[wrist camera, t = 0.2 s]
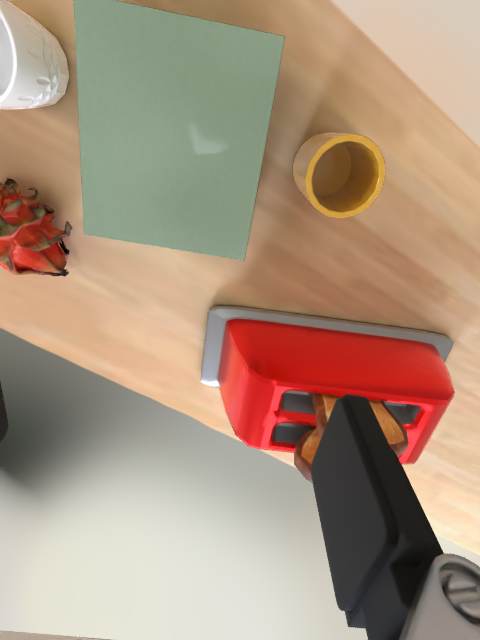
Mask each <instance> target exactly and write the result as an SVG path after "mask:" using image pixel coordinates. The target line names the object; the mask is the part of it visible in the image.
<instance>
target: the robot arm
mask: <svg viewBox="0 0 480 640" xmlns="http://www.w3.org/2000/svg"><path fill="white" fill-rule="evenodd" d="M7 430H8V420H7V415H6V409H5V404H4V399H3V393H2V388H1V383H0V442H1V440H3V438H4V437H5V435H6V432H7ZM311 477H312V482H313V486H314V492H315V497H316V501H317V506H318V512H319V516H320V522H321V527H322V531H323V536H324V541H325V546H326V551H327V556H328V561H329V566H330V571H331V576H332V581H333V586H334V591H335V596H336V601H337V605H338V607H339V609H340V610H342V611H345V614H346V619H347V624H348V627H355V628H366V632H367V636H368V640H480V567H479V566H477V565H476V564H474V563H473V562H471V561H469V560H468V559H466V558H464V557H461V556H458V555H455V554H444V553H443V551H442V549H441V547H440V544H439V542H438V541H437V538H436V536H435V534H434V532H433V530H432V528H431V526H430V523H429V521H428V519H427V517H426V515H425V513H424V511H423V509H422V507H421V505H420V503H419V500H418V498H417V496H416V494H415V492H414V490H413V488H412V486H411V484H410V482H409V479H408V477H407V475H406V473H405V471H404V469H403V467H402V465H401V463H400V461H399V458H398V456H397V455H396V453H395V452H394V450H392V449H391V447H390V445H389V443H388V441H387V439H386V437H385V435H384V432H383V430H382V428H381V426H380V424H379V422H378V420H377V418H376V415H375V413H374V411H373V409H372V407H371V405H370V403H369V400H368V399H367V398H366V397H364V396H356V395H349V394H345V395H344V396H343V397H342V399H341V398H338V399H337V400H336V402H335V404H334V407H333V409H332V412H331V414H330V417H329V419H328V422H327V425H326V427H325V430H324V432H323V435H322V437H321V440H320V443H319V445H318V448H317V450H316V453H315V455H314V458H313V461H312V464H311ZM0 640H109V639H97V638H85V637H72V636H59V635H47V634H36V633H24V632H12V631H0Z"/></svg>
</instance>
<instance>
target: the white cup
mask: <svg viewBox="0 0 480 640" xmlns="http://www.w3.org/2000/svg"><path fill="white" fill-rule="evenodd" d="M68 80H69V71H68V64H67V58H66V55H65V53H64V52H63V50H62V48H61V46H60V44H59V42H58V40H57V38H56V37H55V36H54V35H53V34H51V33H50V32H49V31H48V30H47V29H46V28H45V27H44V26H43V25H42V24H40V23H39V22H37V21H36V20H34V19H33V18H32V17H30V16H29V15H28V14H26V13H25V12H24V11H22V10H21V9H19V8H17V7H16V6H15V5H13V4H12V3H10V2H9V1H7V0H0V109H29V108H41V107H45V106H50V105H54V104H56V102H57V101H58V100H59V99H60V98H61V97H62V96H63V95H64V94H65V92H66V88H67V84H68Z"/></svg>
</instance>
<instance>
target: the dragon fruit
mask: <svg viewBox="0 0 480 640" xmlns="http://www.w3.org/2000/svg"><path fill="white" fill-rule="evenodd" d="M28 189H29V190H35V192H36V193H35V195H33V196H31V197H24V196H21V195H20V188H19V186H18V184H17V183H16V182H15V181H14V180H12V179H8V178H7V181H6V182H5V184H2V183H1V182H0V265H1V266H2V267H3V268H4V269H6V270H8V271H10V272H12V273H13V274H17V275H24V274H41V275H52V276H60V275H61V276H66V275H68V273H69V272H68V271H67V270H65V269H64V267H65V265H66V263H67V262H66V260H67V259H68V255H69V250H68V249H66V246H65V244H64V242H63V241H62V240H63V239H62V238H61V237H65V236H66V235H68V236H69V235H70V230H72V226H71V225H70V223H69V222H68V221H67V222H66V225H65V231H62V230H60V229H57V228H55V227H53V226H52V225H51V224H50V222H51V220H52V219H54V218H55V212H54V210H53V209H51V208H49V207H48V206H46V205H39V204H38V203H39V201H40V199H41V196H40V193H39V191H38V190H37V189H36V188H34V187H30V188H28ZM46 211H47V213H48V214H46ZM58 241H61V242H62V243H60V242H59V243H60V246H61V248H62V249H63V251H64V252H63V251H62V249H61V248H60V246H59V245H58V243H57V242H58ZM66 271H67V272H66Z"/></svg>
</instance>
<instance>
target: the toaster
mask: <svg viewBox="0 0 480 640" xmlns="http://www.w3.org/2000/svg"><path fill="white" fill-rule="evenodd" d="M452 346H453V341H452V340H451V339H449V338H448V337H447V336H445V335H441V334H436V333H432V332H427V331H421V330H414V329H407V328H400V327H392V326H385V325H377V324H369V323H362V322H354V321H347V320H339V319H331V318H324V317H316V316H309V315H301V314H293V313H286V312H278V311H271V310H263V309H255V308H247V307H238V306H216V307H213V308H210V310H209V312H208V319H207V327H206V336H205V345H204V354H203V363H202V372H201V382H202V383H204V384H206V385H208V386H212V387H217V388H220V393H221V397H222V400H223V404H224V407H225V411H226V414H227V416H228V419H229V421H230V423H231V425H232V428H233V430H234V432H235V435H236V436H237V437H239V438H240V439H241V440H242V441H243V442H244V443H245V444H246V445H247V446H249V447H253V448H257V449H263V450H272V451H282V452H291V453H294V464H295V466H296V467H297V468H298V470H299V471H300V472H301V473H302V475H303V476H304V477H305V478H306V479H307V480H309V481H310V482H311V483H313V482H312V477H311V464H312V461H313V458H314V455H315V453H316V450H317V448H318V445H319V443H320V440H321V437H322V435H323V432H324V430H325V427H326V425H327V422H328V419H329V417H330V414H331V412H332V409H333V407H334V404H335V402H336V400H337V399H338V398H341V399H342V397H343V396H344V395H345V394H349V395H356V396H364V397H366V398H367V399H368V400H369V403H370V405H371V407H372V409H373V411H374V413H375V415H376V418H377V420H378V422H379V424H380V426H381V428H382V430H383V432H384V435H385V437H386V439H387V441H388V443H389V445H390V447H391V449H392V450H394V452H395V453H396V455H397V456H398V458H399V461H400V463H401V464H414V463H415V462H416V461H417V459H418V458H419V456H420V455H421V454H422V452H423V450H424V448H425V447H426V445H427V443H428V441H429V439H430V438H431V436H432V434H433V432H434V431H435V429H436V427H437V425H438V423H439V422H440V420H441V418H442V416H443V415H444V413H445V411H446V409H447V407H448V406H449V404H450V402H451V400H452V398H453V397H454V388H453V385H452V381H451V378H450V374H449V372H448V370H447V368H446V366H445V363H444V362H445V360H446V358H447V356H448V354H449V352H450V350H451V348H452Z"/></svg>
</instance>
